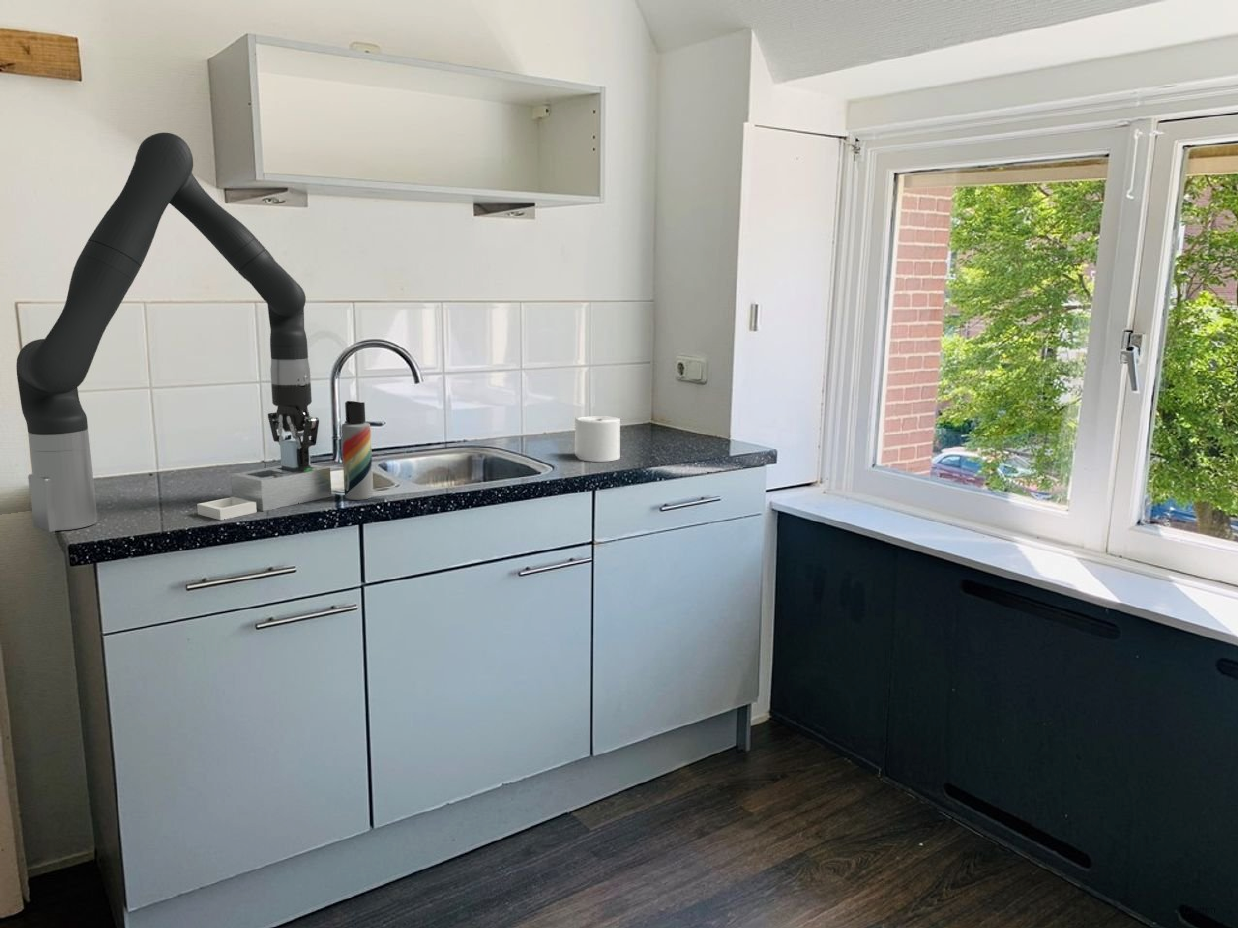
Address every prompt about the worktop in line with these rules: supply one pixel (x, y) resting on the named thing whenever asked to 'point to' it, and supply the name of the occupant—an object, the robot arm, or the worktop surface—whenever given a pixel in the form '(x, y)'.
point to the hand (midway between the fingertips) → (295, 464)
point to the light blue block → (290, 456)
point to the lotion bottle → (357, 453)
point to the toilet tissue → (597, 438)
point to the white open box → (226, 508)
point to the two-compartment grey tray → (281, 486)
